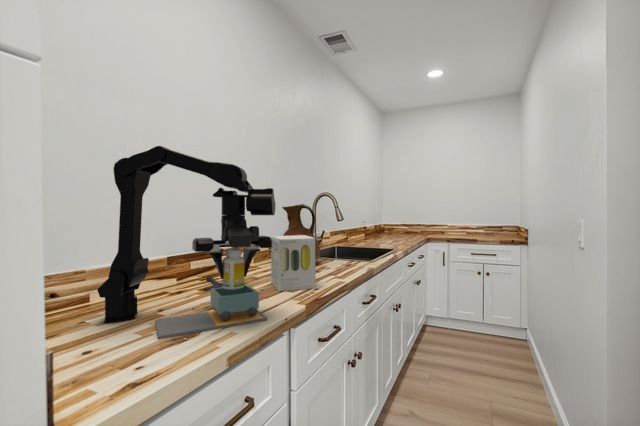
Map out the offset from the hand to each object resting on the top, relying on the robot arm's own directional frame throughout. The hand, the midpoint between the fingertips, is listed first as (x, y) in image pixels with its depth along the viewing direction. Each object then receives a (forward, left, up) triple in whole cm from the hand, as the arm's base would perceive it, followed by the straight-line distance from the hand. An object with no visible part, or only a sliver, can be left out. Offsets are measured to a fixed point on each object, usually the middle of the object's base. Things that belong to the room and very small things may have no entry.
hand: (233, 277), depth 82 cm
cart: (0, 0, -10) cm, 10 cm away
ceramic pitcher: (+49, +64, -10) cm, 81 cm away
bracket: (+4, +40, -11) cm, 42 cm away
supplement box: (+27, +24, -10) cm, 38 cm away
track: (-5, 0, -10) cm, 11 cm away
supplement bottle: (0, 0, -3) cm, 3 cm away
